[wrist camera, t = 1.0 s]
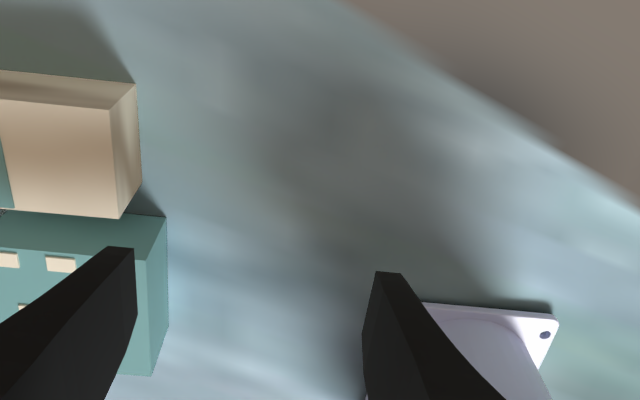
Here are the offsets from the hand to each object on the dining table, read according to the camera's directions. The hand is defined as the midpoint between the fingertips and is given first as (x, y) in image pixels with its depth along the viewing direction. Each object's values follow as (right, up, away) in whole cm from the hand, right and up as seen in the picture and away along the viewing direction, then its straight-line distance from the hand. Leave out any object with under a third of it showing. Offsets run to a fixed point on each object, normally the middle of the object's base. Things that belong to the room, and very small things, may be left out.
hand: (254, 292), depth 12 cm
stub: (-8, +5, +7) cm, 12 cm away
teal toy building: (-8, -1, +10) cm, 13 cm away
